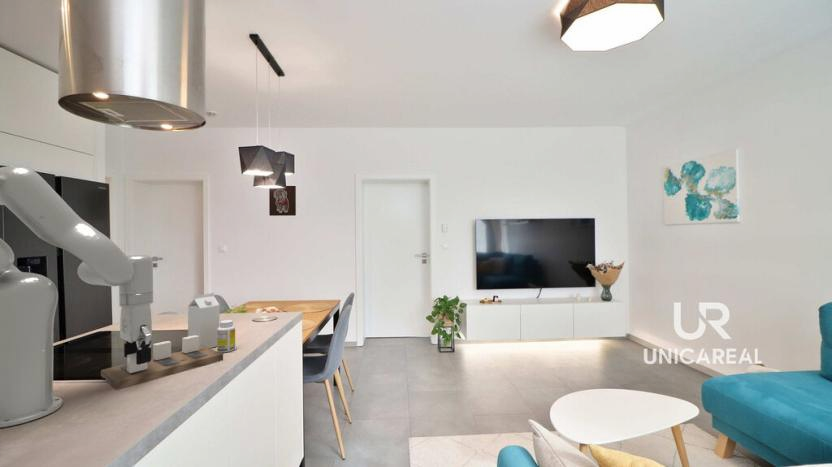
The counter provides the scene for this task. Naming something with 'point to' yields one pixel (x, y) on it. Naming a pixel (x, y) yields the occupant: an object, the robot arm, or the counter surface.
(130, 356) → the knob left
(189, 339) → the knob right
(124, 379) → the switch board
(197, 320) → the milk carton
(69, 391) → the counter surface
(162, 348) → the knob middle
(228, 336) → the supplement bottle
